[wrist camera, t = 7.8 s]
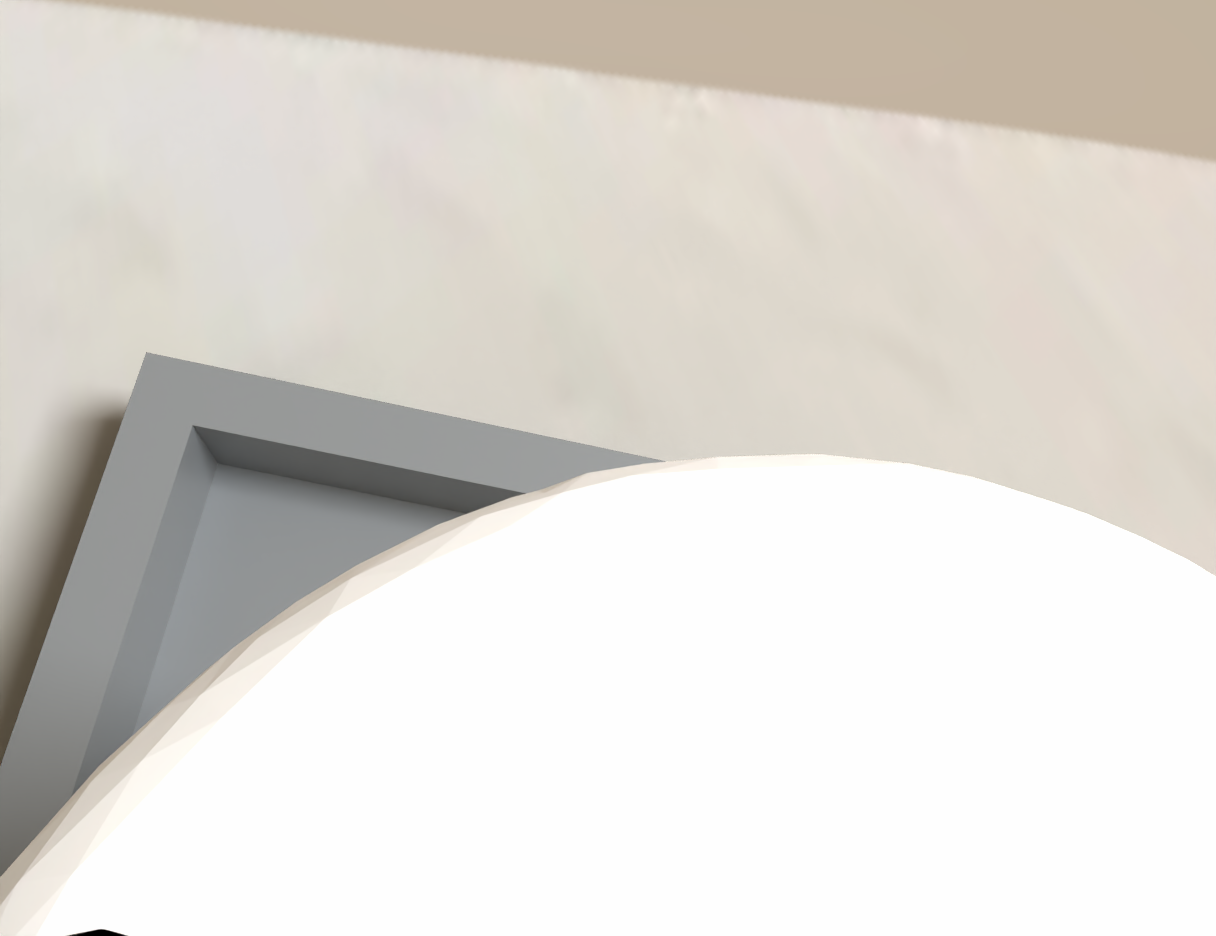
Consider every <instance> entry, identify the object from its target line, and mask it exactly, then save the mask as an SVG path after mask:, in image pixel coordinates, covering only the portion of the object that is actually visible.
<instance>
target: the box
mask: <svg viewBox="0 0 1216 936" xmlns="http://www.w3.org/2000/svg"><path fill="white" fill-rule="evenodd" d="M658 462H666V461H661V460H657V459H652V458H647V457H642V456H638V455H633V454H628V453H623V452H619V451H614V450H609V449H604V448H600V447H595V446H590V445H585V444H580V443H576V442H571V441H566V440H561V439H557V438H552V437H547V436H542V435H538V434H533V433H528V432H523V431H519V430H514V429H509V428H504V427H500V426H495V425H490V424H485V423H480V422H476V421H471V420H466V419H461V418H457V417H452V416H447V415H442V414H438V413H433V412H428V411H423V410H419V409H414V408H409V407H404V406H400V405H395V404H390V403H385V402H380V401H376V400H371V399H366V398H361V397H357V396H352V395H347V394H342V393H338V392H333V391H328V390H323V389H319V388H314V387H309V386H304V385H300V384H295V383H290V382H285V381H280V380H276V379H271V378H266V377H261V376H257V375H252V374H247V373H242V372H238V371H233V370H228V369H223V368H219V367H214V366H209V365H204V364H200V363H195V362H190V361H185V360H181V359H176V358H171V357H166V356H161V355H157V354H152V353H147V352H146V355H145V358H144V361H143V363H142V366H141V369H140V372H139V375H138V378H137V380H136V383H135V386H134V389H133V392H132V395H131V397H130V400H129V403H128V406H127V409H126V412H125V414H124V417H123V420H122V423H121V426H120V429H119V431H118V434H117V437H116V440H115V443H114V446H113V448H112V451H111V454H110V457H109V460H108V462H107V465H106V468H105V471H104V474H103V477H102V479H101V482H100V485H99V488H98V491H97V494H96V496H95V499H94V502H93V505H92V508H91V511H90V513H89V516H88V519H87V522H86V525H85V528H84V530H83V533H82V536H81V539H80V542H79V545H78V547H77V550H76V553H75V556H74V559H73V562H72V564H71V567H70V570H69V573H68V576H67V579H66V581H65V584H64V587H63V590H62V593H61V596H60V598H59V601H58V604H57V607H56V610H55V613H54V615H53V618H52V621H51V624H50V627H49V630H48V632H47V635H46V638H45V641H44V644H43V647H42V649H41V652H40V655H39V658H38V661H37V664H36V666H35V669H34V672H33V675H32V678H31V681H30V683H29V686H28V689H27V692H26V695H25V698H24V700H23V703H22V706H21V709H20V712H19V715H18V717H17V720H16V723H15V726H14V729H13V732H12V734H11V737H10V740H9V743H8V746H7V749H6V751H5V754H4V757H3V760H2V763H1V766H0V877H1V876H2V875H3V874H4V872H5V871H6V870H7V869H8V868H9V867H10V866H11V865H12V863H13V862H14V861H15V860H16V859H17V858H18V857H19V855H20V854H21V853H22V852H23V851H24V850H25V849H26V848H27V846H28V845H29V844H30V843H31V842H32V841H33V840H34V839H35V837H36V836H37V835H38V834H39V833H40V832H41V831H42V830H43V828H44V827H45V826H46V825H47V824H48V823H49V822H50V821H51V819H52V818H53V817H54V816H55V815H56V814H57V813H58V812H59V810H60V809H61V808H62V807H63V806H64V805H65V804H66V803H67V801H68V800H69V799H70V798H71V797H72V796H73V795H74V793H75V792H76V791H77V790H78V789H79V788H80V787H81V786H82V784H83V783H84V782H85V781H86V780H87V779H88V778H89V777H90V775H91V774H92V773H93V772H94V771H95V770H96V769H97V768H98V766H99V765H100V764H101V763H103V762H104V761H105V760H106V759H107V758H108V757H109V756H110V755H112V754H113V753H114V752H115V751H116V750H117V749H118V748H119V747H120V746H122V745H123V744H124V743H125V742H126V741H127V740H128V739H129V738H130V737H132V736H133V735H134V734H135V733H136V732H137V731H138V730H139V729H140V728H142V727H143V726H144V725H145V724H146V723H147V722H148V721H149V720H151V719H152V718H153V717H154V716H155V715H156V714H157V713H158V712H159V711H161V710H162V709H163V708H164V707H165V706H166V705H167V704H168V703H169V702H171V701H172V700H173V699H174V698H175V697H176V696H177V695H178V694H179V693H181V692H182V691H183V690H184V689H185V688H186V687H187V686H188V685H190V684H191V683H192V682H193V681H194V680H195V679H196V678H197V677H198V676H200V675H201V674H202V673H203V672H204V671H205V670H207V669H208V668H209V667H210V666H212V665H213V664H214V663H215V662H216V661H218V660H219V659H220V658H221V657H223V656H224V655H225V654H226V653H228V652H229V651H230V650H231V649H232V648H234V647H235V646H236V645H238V644H239V643H240V642H242V641H243V640H244V639H246V638H247V637H249V636H250V635H251V634H253V633H254V632H255V631H257V630H258V629H260V628H261V627H262V626H264V625H265V624H266V623H268V622H269V621H270V620H272V619H273V618H275V617H276V616H277V615H279V614H280V613H281V612H283V611H284V610H286V609H287V608H288V607H290V606H291V605H292V604H294V603H295V602H297V601H298V600H300V599H302V598H303V597H305V596H306V595H308V594H310V593H311V592H313V591H315V590H316V589H318V588H320V587H321V586H323V585H325V584H326V583H328V582H330V581H331V580H333V579H335V578H336V577H338V576H340V575H341V574H343V573H345V572H346V571H348V570H350V569H351V568H353V567H355V566H356V565H358V564H360V563H362V562H364V561H366V560H368V559H370V558H372V557H374V556H376V555H378V554H380V553H382V552H384V551H386V550H388V549H390V548H392V547H394V546H396V545H398V544H400V543H402V542H404V541H406V540H408V539H410V538H412V537H414V536H416V535H418V534H420V533H422V532H424V531H426V530H428V529H430V528H432V527H434V526H436V525H438V524H441V523H444V522H446V521H449V520H452V519H454V518H457V517H460V516H462V515H465V514H468V513H471V512H473V511H476V510H479V509H481V508H484V507H487V506H490V505H492V504H495V503H498V502H500V501H503V500H506V499H508V498H511V497H515V496H519V495H523V494H527V493H531V492H534V491H538V490H541V489H544V488H547V487H550V486H552V485H555V484H558V483H561V482H564V481H566V480H569V479H572V478H575V477H577V476H580V475H583V474H586V473H591V472H597V471H603V470H609V469H615V468H621V467H627V466H633V465H640V464H647V463H658Z"/></svg>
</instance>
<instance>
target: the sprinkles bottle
mask: <svg viewBox="0 0 1216 936" xmlns="http://www.w3.org/2000/svg"><path fill="white" fill-rule="evenodd" d="M0 936H1216V576H1214V575H1212V574H1211V573H1209V572H1207V571H1206V570H1204V569H1202V568H1201V567H1199V566H1197V565H1196V564H1194V563H1193V562H1191V561H1189V560H1187V559H1185V558H1183V557H1181V556H1179V555H1177V554H1175V553H1173V552H1171V551H1169V550H1167V549H1165V548H1162V547H1160V546H1158V545H1156V544H1154V543H1152V542H1150V541H1148V540H1146V539H1144V538H1142V537H1140V536H1137V535H1135V534H1133V533H1130V532H1128V531H1126V530H1123V529H1121V528H1119V527H1117V526H1114V525H1112V524H1110V523H1107V522H1105V521H1103V520H1100V519H1098V518H1096V517H1093V516H1091V515H1089V514H1086V513H1083V512H1080V511H1078V510H1075V509H1072V508H1069V507H1066V506H1063V505H1060V504H1058V503H1054V502H1051V501H1048V500H1045V499H1042V498H1039V497H1035V496H1032V495H1029V494H1026V493H1023V492H1020V491H1016V490H1013V489H1010V488H1007V487H1004V486H1001V485H997V484H994V483H991V482H988V481H984V480H981V479H978V478H974V477H971V476H966V475H962V474H957V473H952V472H947V471H942V470H938V469H933V468H928V467H923V466H918V465H914V464H908V463H899V462H889V461H880V460H870V459H861V458H851V457H842V456H832V455H823V454H792V455H761V456H733V457H713V458H702V459H691V460H680V461H669V462H658V463H647V464H640V465H633V466H627V467H621V468H615V469H609V470H603V471H597V472H591V473H586V474H583V475H580V476H577V477H575V478H572V479H569V480H566V481H564V482H561V483H558V484H555V485H552V486H550V487H547V488H544V489H541V490H538V491H534V492H531V493H527V494H523V495H519V496H515V497H511V498H508V499H506V500H503V501H500V502H498V503H495V504H492V505H490V506H487V507H484V508H481V509H479V510H476V511H473V512H471V513H468V514H465V515H462V516H460V517H457V518H454V519H452V520H449V521H446V522H444V523H441V524H438V525H436V526H434V527H432V528H430V529H428V530H426V531H424V532H422V533H420V534H418V535H416V536H414V537H412V538H410V539H408V540H406V541H404V542H402V543H400V544H398V545H396V546H394V547H392V548H390V549H388V550H386V551H384V552H382V553H380V554H378V555H376V556H374V557H372V558H370V559H368V560H366V561H364V562H362V563H360V564H358V565H356V566H355V567H353V568H351V569H350V570H348V571H346V572H345V573H343V574H341V575H340V576H338V577H336V578H335V579H333V580H331V581H330V582H328V583H326V584H325V585H323V586H321V587H320V588H318V589H316V590H315V591H313V592H311V593H310V594H308V595H306V596H305V597H303V598H302V599H300V600H298V601H297V602H295V603H294V604H292V605H291V606H290V607H288V608H287V609H286V610H284V611H283V612H281V613H280V614H279V615H277V616H276V617H275V618H273V619H272V620H270V621H269V622H268V623H266V624H265V625H264V626H262V627H261V628H260V629H258V630H257V631H255V632H254V633H253V634H251V635H250V636H249V637H247V638H246V639H244V640H243V641H242V642H240V643H239V644H238V645H236V646H235V647H234V648H232V649H231V650H230V651H229V652H228V653H226V654H225V655H224V656H223V657H221V658H220V659H219V660H218V661H216V662H215V663H214V664H213V665H212V666H210V667H209V668H208V669H207V670H205V671H204V672H203V673H202V674H201V675H200V676H198V677H197V678H196V679H195V680H194V681H193V682H192V683H191V684H190V685H188V686H187V687H186V688H185V689H184V690H183V691H182V692H181V693H179V694H178V695H177V696H176V697H175V698H174V699H173V700H172V701H171V702H169V703H168V704H167V705H166V706H165V707H164V708H163V709H162V710H161V711H159V712H158V713H157V714H156V715H155V716H154V717H153V718H152V719H151V720H149V721H148V722H147V723H146V724H145V725H144V726H143V727H142V728H140V729H139V730H138V731H137V732H136V733H135V734H134V735H133V736H132V737H130V738H129V739H128V740H127V741H126V742H125V743H124V744H123V745H122V746H120V747H119V748H118V749H117V750H116V751H115V752H114V753H113V754H112V755H110V756H109V757H108V758H107V759H106V760H105V761H104V762H103V763H101V764H100V765H99V766H98V768H97V769H96V770H95V771H94V772H93V773H92V774H91V775H90V777H89V778H88V779H87V780H86V781H85V782H84V783H83V784H82V786H81V787H80V788H79V789H78V790H77V791H76V792H75V793H74V795H73V796H72V797H71V798H70V799H69V800H68V801H67V803H66V804H65V805H64V806H63V807H62V808H61V809H60V810H59V812H58V813H57V814H56V815H55V816H54V817H53V818H52V819H51V821H50V822H49V823H48V824H47V825H46V826H45V827H44V828H43V830H42V831H41V832H40V833H39V834H38V835H37V836H36V837H35V839H34V840H33V841H32V842H31V843H30V844H29V845H28V846H27V848H26V849H25V850H24V851H23V852H22V853H21V854H20V855H19V857H18V858H17V859H16V860H15V861H14V862H13V863H12V865H11V866H10V867H9V868H8V869H7V870H6V871H5V872H4V874H3V875H2V876H1V877H0Z"/></svg>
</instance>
